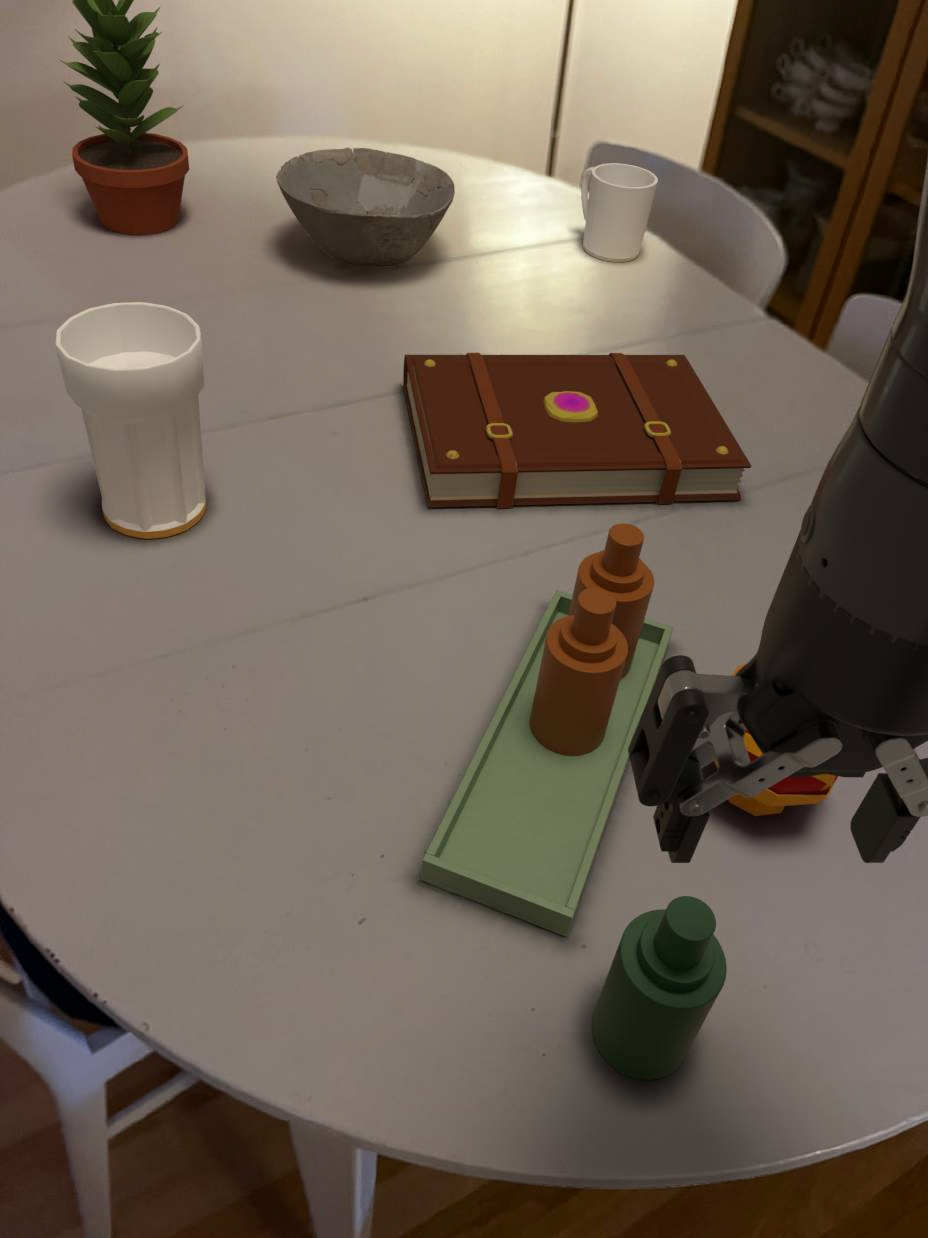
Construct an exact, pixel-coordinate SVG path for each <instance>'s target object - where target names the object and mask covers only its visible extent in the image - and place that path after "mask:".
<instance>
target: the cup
mask: <svg viewBox="0 0 928 1238" xmlns="http://www.w3.org/2000/svg"><path fill="white" fill-rule="evenodd" d="M201 332H202V331H201V326H200V325H199V324H198V323H197V322H196V321H195V320H193V318H192V317H191V316H190V315H188V313H187V312H186V313H185V312H183V311H180V310H178V309H175V308H173V307H171V306H168V305H163V304H156V303H152V302H151V303H150V302H144V301H136V302H135V301H134V302H133V301H131V302H113V303H107V304H103V305H98V306H94V307H89V308H86V309H85V310H82V311H80V312H79V313H76V314H74V315H72V316H71V317H68V319H66V321H64V323H62V324H61V326H60V327H59V328H58V329H57V330H56V331H55V340H54V341H55V343H54V346H55V351H56V355H57V359H58V362H59V366H60V367H59V368H60V371H61V374H62V378H63V379H62V380H63V383H64V387H65V390H66V393H67V395H68V396H69V397H70V398H71V400H72V401H73V403H74V404H75V405H76V406H77V407H78V408H80V411H81V414H82V419H83V422H84V427H85V432H86V435H87V439H88V444H89V448H90V452H91V456H92V460H93V465H94V468H95V473H96V478H97V482H98V486H99V487H98V488H99V491H100V496H101V507H102V508H101V510H102V514H103V518H104V520H105V521H106V523H107V524H108V525H109V527H110V528H111V529H113V530H114V531H116V532H118V533H120V534H123V535H125V536H127V537H128V536H129V537H134V538H138V539H143V540H149V539H152V540H153V539H163V538H168V537H171V536H175V535H178V534H181V533H184V532H187V531H188V530H189V529H191V528H192V527H194V526H195V525H196V524H198V522H200V521H201V520H202V517H204V516H203V515H204V514H205V513H206V510H207V502H206V485H205V473H204V457H203V443H202V442H203V441H202V430H201V429H202V428H201V414H200V413H201V412H200V400H199V394H200V393H201V391H202V390H203V388H204V387H205V374H204V372H205V371H204V357H203V343H202V341H203V340H202V334H201Z"/></svg>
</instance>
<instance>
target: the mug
mask: <svg viewBox="0 0 928 1238" xmlns="http://www.w3.org/2000/svg"><path fill="white" fill-rule="evenodd" d="M589 180H590V184H589ZM658 181H659V179H658V177H657V175H656V174H655V173H654V172H652V171H650V170H648V169H646V168H644V167H640V166H637V165H632V164H627V163H621V162H620V163H619V162H617V163H616V162H615V163H613V162H610V163H609V162H608V163H601V164H598V165H596V166H590V167H588V168H586V169H585V170H584V172H583V174H582V176H581V184H580V199H581V208H582V210H581V211H582V214H583V219H584V221H585V224H584V232H583V240H582V241H583V242H582V247H583V250H584V252H585V253H587V254H588V255H589V256H591V257H593V258H594V259H598V260H600V261H603V262H604V261H605V262H609V263H611V262H612V263H627V262H631V261H633V260H635V259H637V258H638V257H639V255H640V253H641V249H642V245H643V240H644V237H645V234H646V229H647V226H648V222H649V217H650V214H651V209H652V206H653V202H654V198H655V194H656V190H657V187H658V183H659V182H658Z"/></svg>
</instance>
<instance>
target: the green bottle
mask: <svg viewBox="0 0 928 1238" xmlns="http://www.w3.org/2000/svg"><path fill="white" fill-rule="evenodd" d="M716 927H717V919H716V916H715V913H714V911H713V910H712V909H711V908H710V905H708V904H707V903H706V902H704V900H701V899H699V898H697V897H694V896H690V895H683V896H682V895H681V896H677V897H676V898H674V899H672V900H670V902H669V903H668V905H667V906H666V908H665V909H652V910H650V911H645V912H644V913H641V914H639V915H638V916H636V917H635V918H633V919H632V920H631V921H630V922H629V923H628V924H627V926H626V927H625V929H624V930H623V933H622V935H621V938H620V940H619V943H618V946H617V949H616V952H615V954H614V956H613V960H612V962H611V964H610V967H609V970H608V972H607V975H606V977H605V981H604V982H603V986H602V989H601V991H600V994H599V996H598V999H597V1002H596V1004H595V1007H594V1010H593V1013H592V1017H591V1032H592V1036H593V1040H594V1043H595V1045H596V1048H597V1050H598V1051H599V1053H600V1054H601V1056H602V1057H603V1058H604V1059H605V1061H606V1062H607V1063H608V1064H609V1065H610V1066H612V1067H613V1069H615V1070H617V1071H618V1072H619V1073H621V1074H623V1075H625V1076H627V1077H631V1078H633V1079H638V1080H645V1081H648V1080H649V1081H651V1080H652V1081H653V1080H657V1079H661V1078H664V1077H667V1076H668V1075H671V1074H672V1073H673V1072H674V1071H676V1070H677V1069H678V1068H679V1067H680V1065H681V1064H682V1063H683V1061H684V1059H685V1057H686V1056H687V1053H688V1052H689V1050H690V1048H691V1046H692V1045H693V1043H694V1041H695V1039H696V1037H697V1035H698V1034H699V1032H700V1030H701V1028H702V1026H703V1025H704V1023H705V1021H706V1019H707V1017H708V1016H709V1013H710V1012H711V1009H712V1008H713V1006H714V1005H715V1002H716V1000H717V998H718V996H719V995H720V994H721V992H722V990H723V987H724V985H725V982H726V980H727V979H726V978H727V971H728V969H727V966H728V965H727V960H726V955H725V952H724V950H723V948H722V945H721V943H720V942H719V940H718V938H717V937H716V936H715V934H714V933H715V932H716Z"/></svg>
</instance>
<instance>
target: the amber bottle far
mask: <svg viewBox="0 0 928 1238" xmlns="http://www.w3.org/2000/svg"><path fill="white" fill-rule="evenodd" d="M644 540H645V534H644V532H643V531H642V529H640V528H639V527H638V526H636V525H634V524H630V523H623V522H621V523H615V524H614V525H612V526H611V527H610V528H609V530H608V534H607V538H606V542H605V546H604V549H603V550H600V551H597V552H593V553H592V554H589V555H588V556H585V558H583V559H582V561H581V562H580V563H579V566H578V569H577V573H576V578H575V581H574V582H575V583H574V587H573V592H572V595H573V596H572V601H571V606H570V610H569V615H568V616H570V615H574V614H575V609H576V605H577V600H578V596H579V594H580V593H581V592H582V591H583V590H585V589H588V588H600V589H603V590H606V591H608V592H609V593H611V594H612V595H613V596H614V598H615V600H616V608H615V612H614V616H613V620H612V624H613V625H614V626H616V627H617V628H618V629H619V630H620V631H621V632H622V633H623V635H624V636H625V638H626V640H627V644H628V654H627V658H626V661H625V665H624V668H623V672H622V676H621V679H622V678H624V677H625V676H626V675H627V674H628V672H629V670H630V668H631V664H632V661H633V657H634V654H635V650H636V647H637V643H638V640H639V636H640V633H641V629H642V626H643V622H644V619H645V618H646V614H647V611H648V607H649V604H650V602H651V601H650V600H651V597H652V594H653V592H654V591H653V590H654V587H655V577H654V574H653V572H652V570H651V569H650V567H649V566H648V565H647V564H646V563H645V562H644V561H643V560H642V558H640V556H641V552H642V549H643V545H644ZM621 679H620V680H621Z"/></svg>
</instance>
